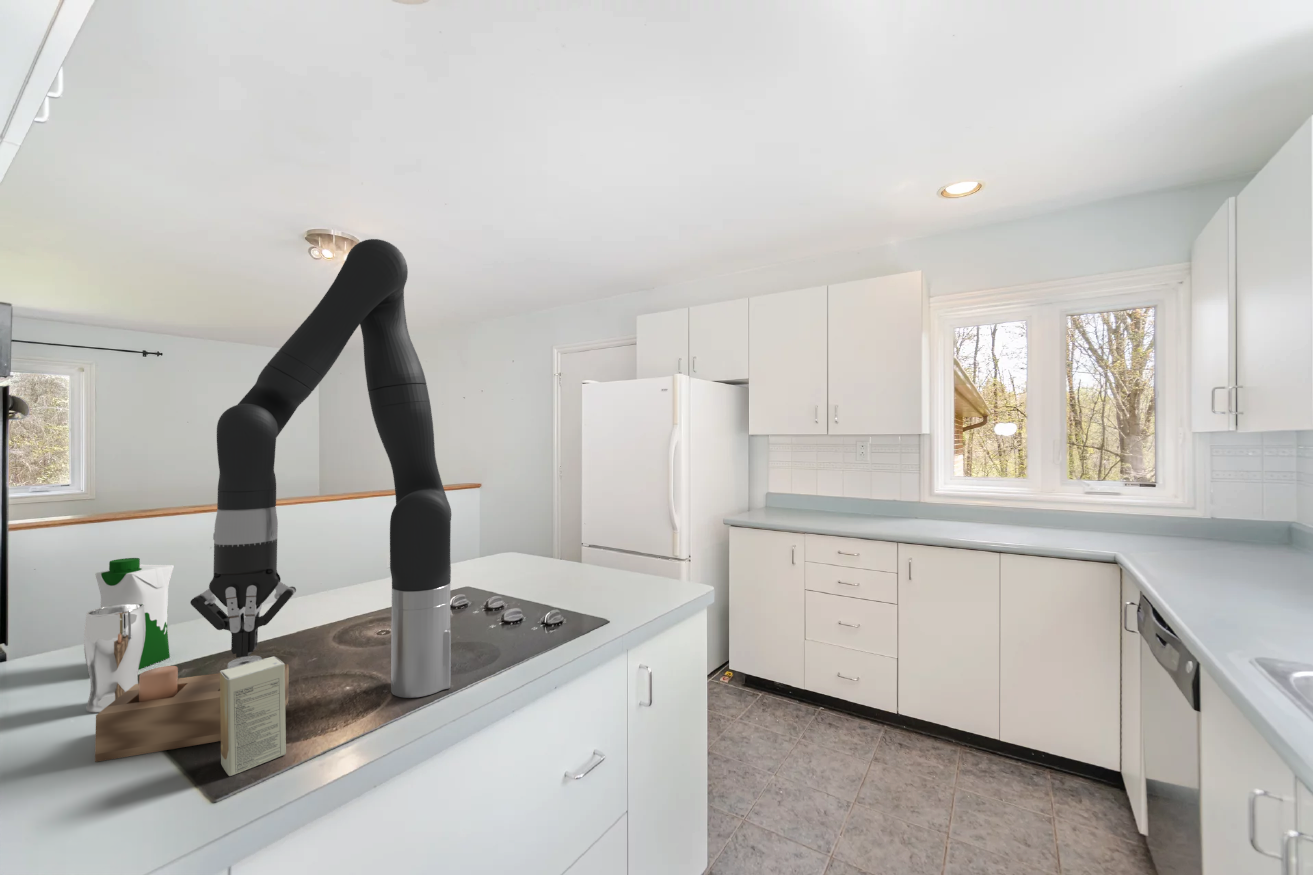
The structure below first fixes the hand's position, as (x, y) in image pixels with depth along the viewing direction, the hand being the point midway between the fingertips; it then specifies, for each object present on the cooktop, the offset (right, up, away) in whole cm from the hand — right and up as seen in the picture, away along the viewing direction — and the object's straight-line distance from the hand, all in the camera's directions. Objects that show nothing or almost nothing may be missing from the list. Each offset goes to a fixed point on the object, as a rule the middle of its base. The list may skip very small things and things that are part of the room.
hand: (244, 655), depth 80 cm
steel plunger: (0, -5, 0) cm, 5 cm away
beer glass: (-25, -10, +6) cm, 28 cm away
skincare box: (+9, -10, -10) cm, 17 cm away
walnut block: (-4, -10, -2) cm, 11 cm away
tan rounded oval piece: (-9, -5, -4) cm, 11 cm away
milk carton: (-37, -11, +21) cm, 44 cm away
